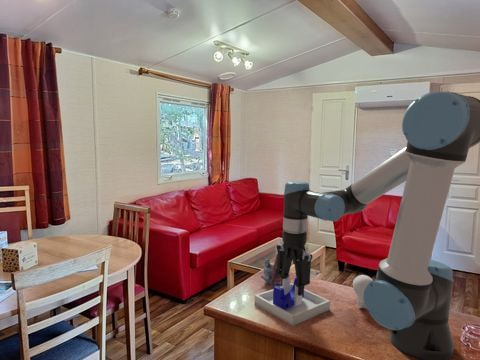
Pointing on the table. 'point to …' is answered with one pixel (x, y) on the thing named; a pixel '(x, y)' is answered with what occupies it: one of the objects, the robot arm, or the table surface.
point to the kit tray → (294, 307)
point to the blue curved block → (284, 297)
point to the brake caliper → (271, 273)
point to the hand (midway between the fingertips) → (291, 300)
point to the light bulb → (361, 288)
